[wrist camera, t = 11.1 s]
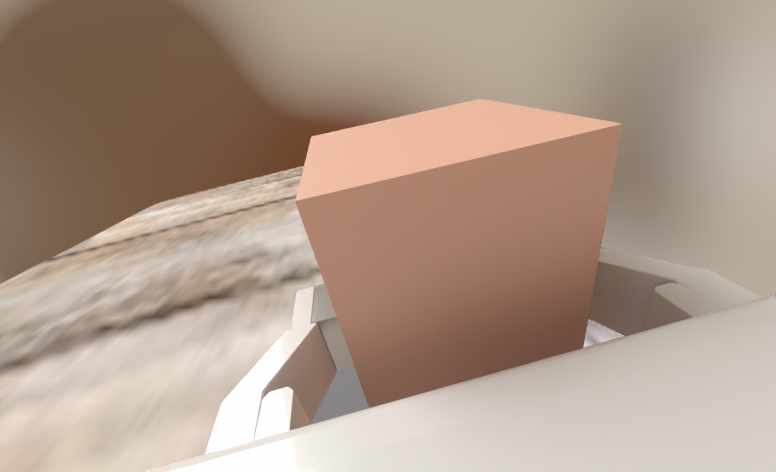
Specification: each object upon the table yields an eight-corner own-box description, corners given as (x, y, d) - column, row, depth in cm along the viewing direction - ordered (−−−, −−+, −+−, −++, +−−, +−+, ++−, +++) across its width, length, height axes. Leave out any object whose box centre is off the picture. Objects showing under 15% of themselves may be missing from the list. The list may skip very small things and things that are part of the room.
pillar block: (405, 508, 9) (295, 200, 4) (380, 368, 14) (311, 136, 9) (563, 460, 10) (622, 124, 5) (489, 338, 14) (481, 98, 9)
